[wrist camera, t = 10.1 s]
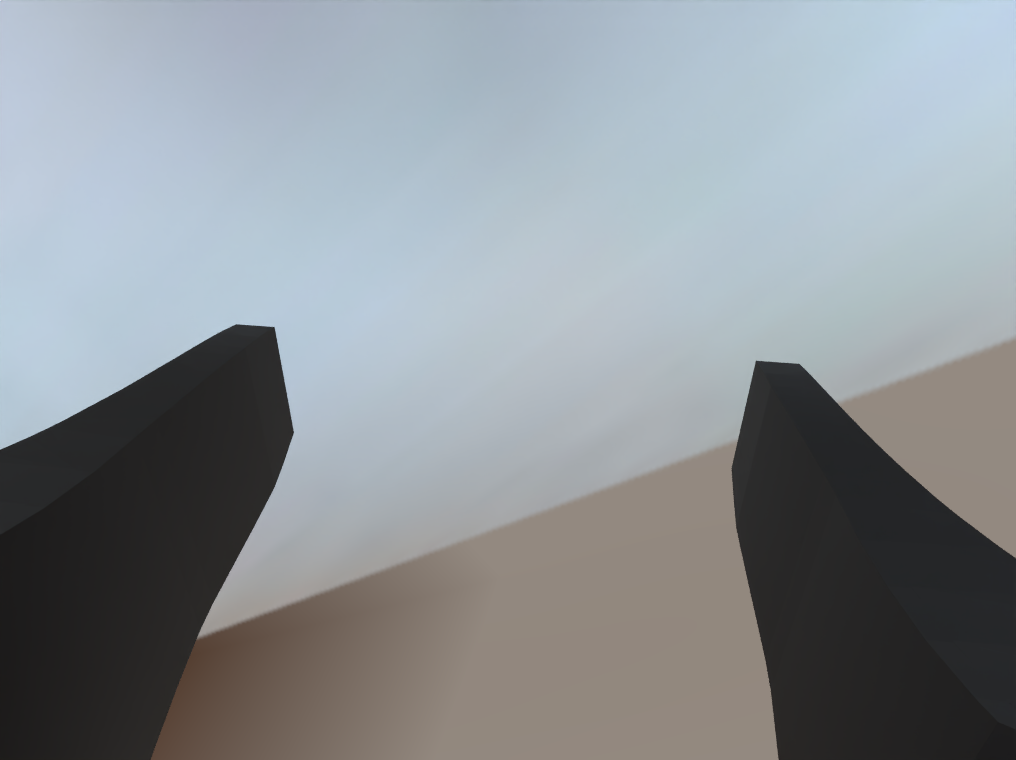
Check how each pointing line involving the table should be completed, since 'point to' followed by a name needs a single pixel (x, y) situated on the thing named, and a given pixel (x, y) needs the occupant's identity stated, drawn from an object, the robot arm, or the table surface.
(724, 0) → the table surface
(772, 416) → the robot arm
